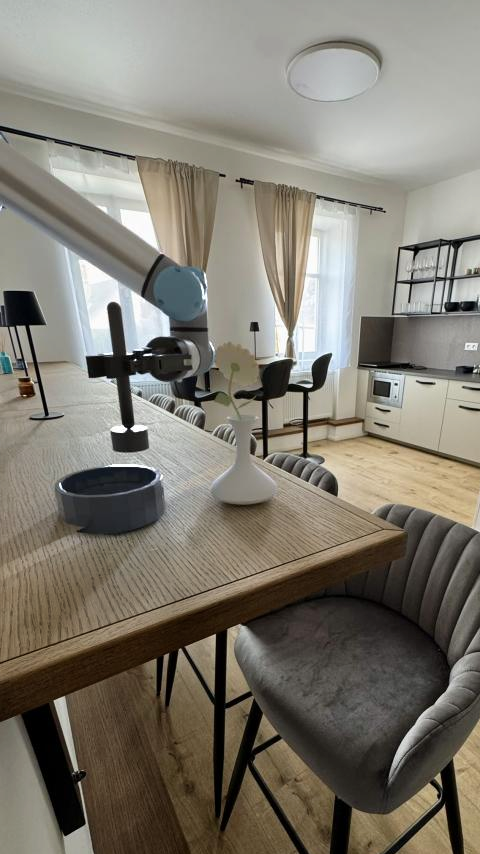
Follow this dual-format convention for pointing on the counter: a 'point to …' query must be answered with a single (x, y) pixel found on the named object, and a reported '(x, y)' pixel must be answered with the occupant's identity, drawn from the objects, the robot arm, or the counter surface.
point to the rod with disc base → (124, 393)
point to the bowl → (111, 498)
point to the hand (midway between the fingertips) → (99, 367)
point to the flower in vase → (240, 433)
